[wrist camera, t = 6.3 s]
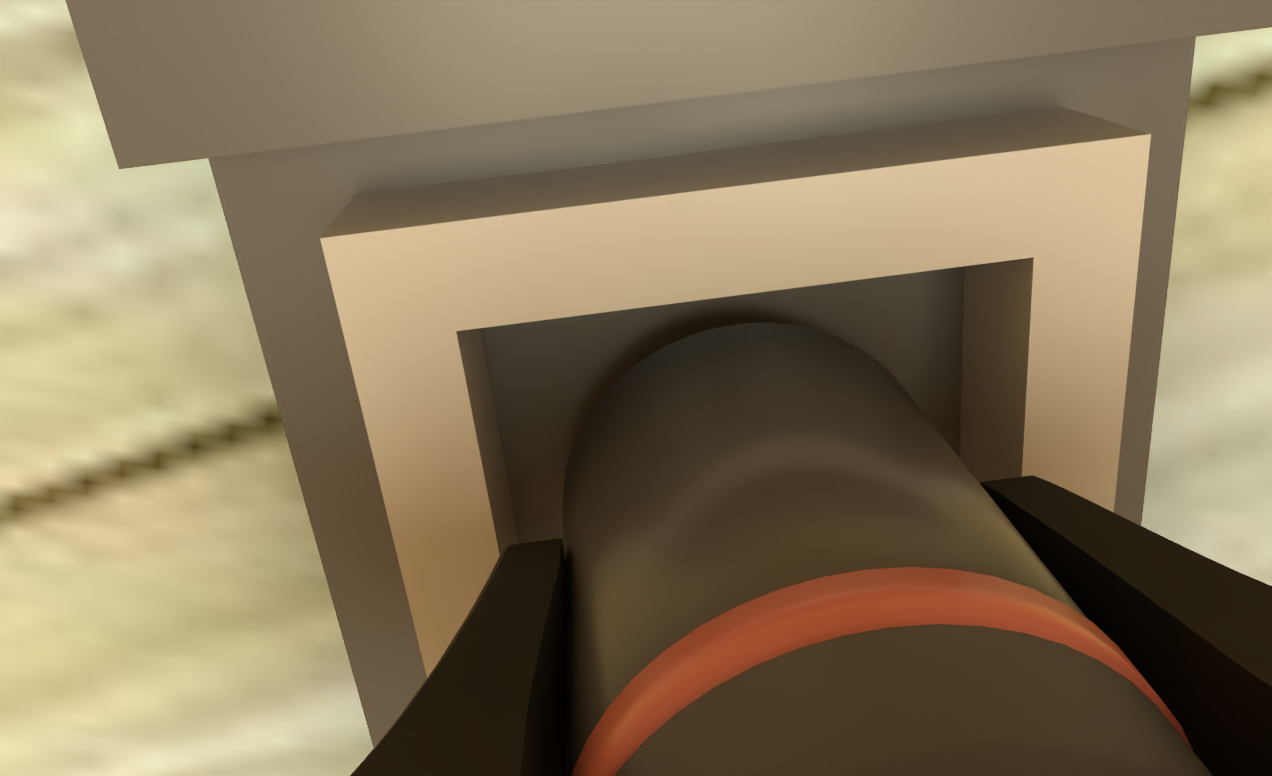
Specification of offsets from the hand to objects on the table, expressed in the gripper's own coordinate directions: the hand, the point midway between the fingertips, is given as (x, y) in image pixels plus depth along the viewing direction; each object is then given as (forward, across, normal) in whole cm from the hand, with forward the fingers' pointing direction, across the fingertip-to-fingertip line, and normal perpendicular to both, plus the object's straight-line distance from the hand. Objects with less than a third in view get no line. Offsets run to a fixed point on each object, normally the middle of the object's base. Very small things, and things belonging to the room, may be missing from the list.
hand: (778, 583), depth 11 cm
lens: (+2, 0, 0) cm, 2 cm away
